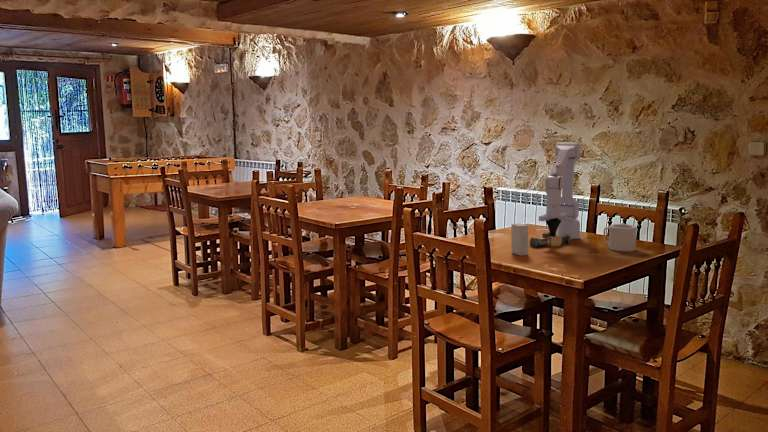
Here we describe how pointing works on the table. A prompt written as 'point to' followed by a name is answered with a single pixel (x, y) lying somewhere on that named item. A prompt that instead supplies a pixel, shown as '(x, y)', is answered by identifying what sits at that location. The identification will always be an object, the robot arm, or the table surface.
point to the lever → (546, 234)
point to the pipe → (544, 241)
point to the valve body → (555, 240)
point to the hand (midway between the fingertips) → (552, 236)
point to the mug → (621, 237)
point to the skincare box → (519, 239)
